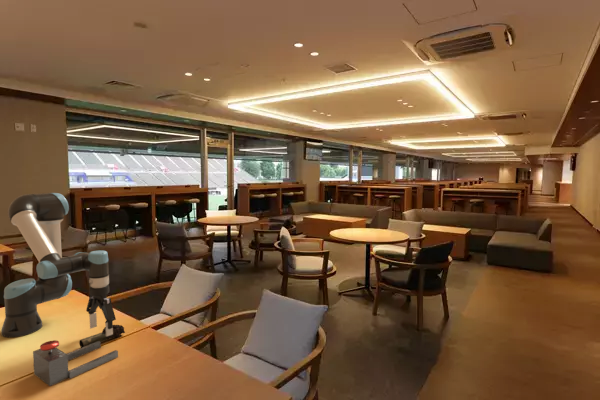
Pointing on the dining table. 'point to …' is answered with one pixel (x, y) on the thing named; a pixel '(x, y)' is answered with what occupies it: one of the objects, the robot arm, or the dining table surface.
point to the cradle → (64, 361)
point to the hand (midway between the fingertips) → (101, 331)
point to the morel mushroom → (102, 336)
